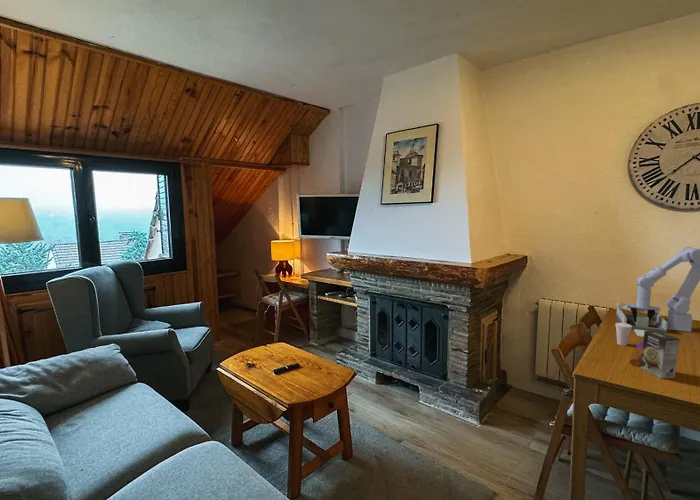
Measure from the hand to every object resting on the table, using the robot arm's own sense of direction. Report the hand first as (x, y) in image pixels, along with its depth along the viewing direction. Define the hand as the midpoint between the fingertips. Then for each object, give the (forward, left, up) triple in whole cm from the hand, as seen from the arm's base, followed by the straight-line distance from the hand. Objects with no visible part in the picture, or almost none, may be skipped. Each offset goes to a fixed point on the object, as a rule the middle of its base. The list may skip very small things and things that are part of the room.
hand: (641, 322), depth 198 cm
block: (0, 0, -1) cm, 1 cm away
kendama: (+10, +54, -2) cm, 55 cm away
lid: (0, -14, +4) cm, 14 cm away
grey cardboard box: (+7, +67, -2) cm, 67 cm away
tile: (0, +16, -2) cm, 16 cm away
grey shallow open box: (0, -3, -2) cm, 4 cm away
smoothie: (+14, +37, -2) cm, 40 cm away
